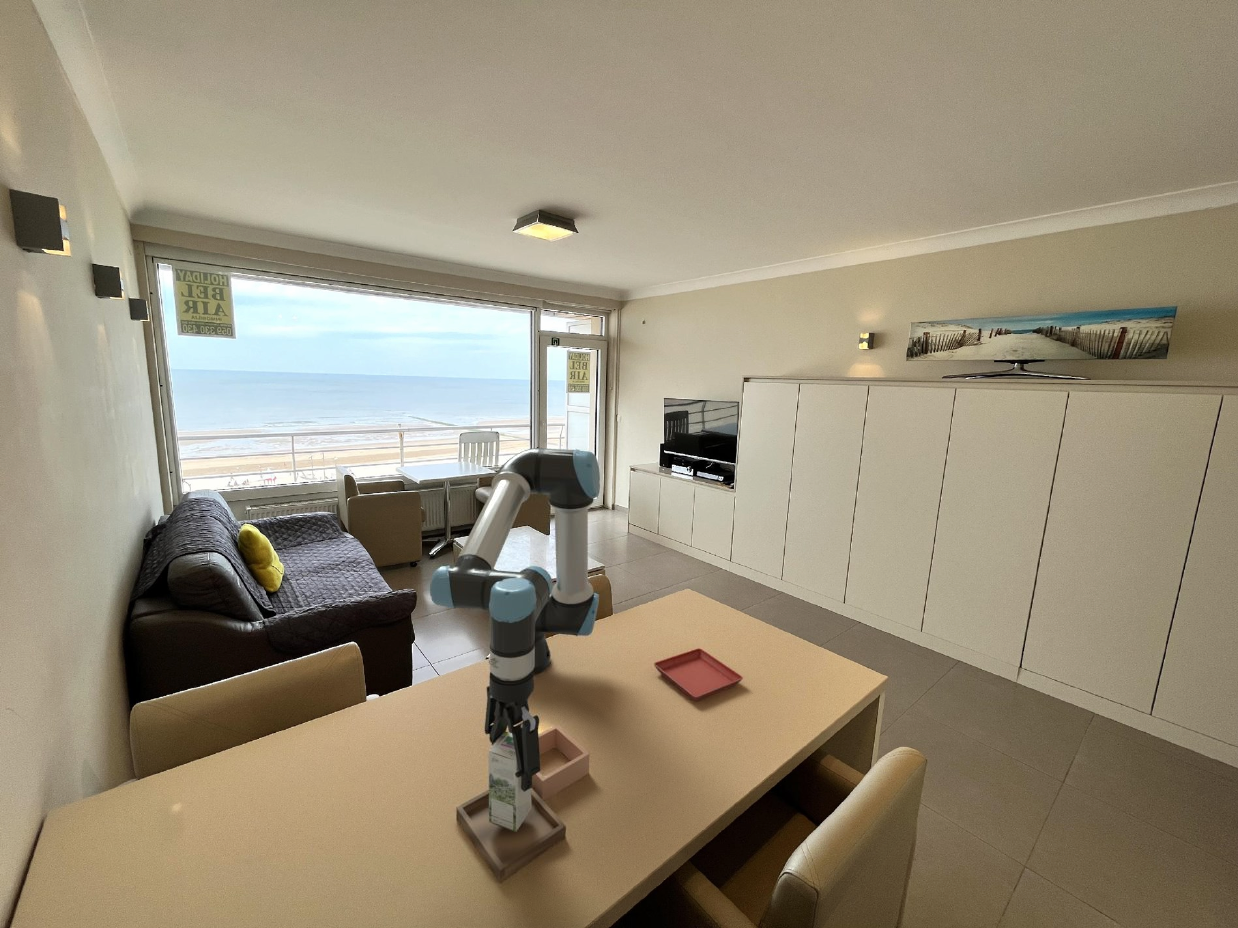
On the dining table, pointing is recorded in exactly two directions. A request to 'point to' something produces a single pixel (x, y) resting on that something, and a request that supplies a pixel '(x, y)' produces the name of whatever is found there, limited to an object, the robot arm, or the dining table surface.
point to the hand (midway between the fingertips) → (510, 787)
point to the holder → (565, 773)
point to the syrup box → (504, 785)
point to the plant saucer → (697, 673)
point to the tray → (510, 834)
